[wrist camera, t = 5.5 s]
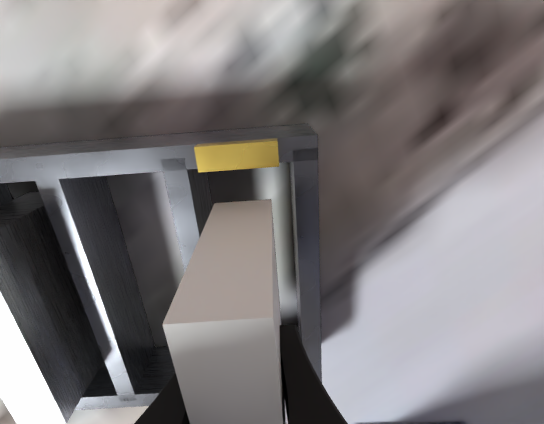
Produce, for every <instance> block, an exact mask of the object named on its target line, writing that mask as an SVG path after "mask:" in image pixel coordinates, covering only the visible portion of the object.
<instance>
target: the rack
mask: <svg viewBox="0 0 544 424" xmlns="http://www.w3.org/2000/svg"><path fill="white" fill-rule="evenodd" d="M282 162H290V179H291V198H292V216H293V235H294V254H295V273H296V292H297V311H298V330H299V335H300V338H301V341H302V344H303V346H304V349H305V351H306V353H307V356H308V358H309V360H310V362H311V364H312V366H313V368H314V370H315V372H316V374H317V376H318V378H319V379H320V381H321V383H322V372H321V313H320V254H319V195H318V136H317V134H316V133H315V132H314V130H313V129H312V128H311V127H310V126H309V125H308V124H296V125H283V126H270V127H257V128H244V129H231V130H218V131H205V132H192V133H179V134H166V135H153V136H140V137H127V138H114V139H101V140H88V141H75V142H62V143H49V144H36V145H23V146H10V147H0V396H1V398H2V400H3V401H4V403H5V405H6V406H7V408H8V410H9V411H10V413H11V415H12V416H13V418H14V420H15V421H16V423H17V424H63V423H67V421H68V420H69V418H70V416H71V415H72V413H73V411H74V410H83V409H101V408H119V407H136V406H150V405H151V403H152V402H153V401H154V400H155V398H156V397H157V396H158V394H159V393H160V392H161V390H162V389H163V388H164V386H165V385H166V384H167V382H168V381H169V380H170V378H171V377H172V375H173V374H174V373H175V368H174V365H173V361H172V358H171V354H170V350H169V347H168V346H164V347H155V344H154V341H153V337H152V334H151V331H150V327H149V324H148V320H147V317H146V313H145V310H144V307H143V303H142V300H141V296H140V293H139V290H138V286H137V283H136V279H135V276H134V272H133V269H132V266H131V262H130V259H129V255H128V252H127V248H126V245H125V242H124V238H123V235H122V231H121V228H120V224H119V221H118V218H117V214H116V211H115V207H114V204H113V200H112V197H111V194H110V190H109V187H108V183H107V180H106V177H105V176H107V175H120V174H134V173H147V172H161V171H163V174H164V178H165V183H166V188H167V192H168V197H169V201H170V206H171V211H172V215H173V220H174V225H175V229H176V234H177V238H178V243H179V248H180V252H181V257H182V262H183V266H184V271H186V268H187V266H188V264H189V261H190V259H191V257H192V254H193V252H194V250H195V247H196V245H197V243H198V240H199V238H200V236H201V233H202V231H203V229H204V226H205V224H206V222H207V219H208V217H209V215H210V213H211V210H212V208H213V207H212V201H211V195H210V189H209V182H208V176H207V172H211V171H225V170H239V169H252V168H266V167H279V163H282ZM26 181H35V182H36V185H37V187H38V190H39V192H31V193H27V194H25V195H22V196H20V197H18V198H16V199H14V200H13V199H12V196H11V194H10V192H9V189H8V187H7V185H6V183H13V182H26Z"/></svg>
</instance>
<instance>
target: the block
mask: <svg viewBox="0 0 544 424" xmlns="http://www.w3.org/2000/svg"><path fill="white" fill-rule="evenodd" d="M162 325H163V329H164V332H165V336H166V340H167V343H168V347H169V350H170V354H171V358H172V361H173V365H174V368H175V372H176V376H177V379H178V383H179V386H180V390H181V394H182V397H183V401H184V404H185V408H186V411H187V415H188V419H189V422H190V424H288V420H287V413H286V405H285V398H284V386H283V374H282V362H281V351H280V325H281V314H280V302H279V289H278V277H277V264H276V252H275V239H274V227H273V215H272V202H271V199H267V200H253V201H239V202H226V203H214V206H213V208H212V210H211V213H210V215H209V217H208V219H207V222H206V224H205V226H204V229H203V231H202V233H201V236H200V238H199V240H198V243H197V245H196V247H195V250H194V252H193V254H192V257H191V259H190V261H189V264H188V266H187V268H186V271H185V273H184V275H183V278H182V280H181V282H180V285H179V287H178V289H177V292H176V294H175V296H174V299H173V301H172V303H171V306H170V308H169V310H168V313H167V315H166V317H165V319H164V322H163V324H162Z"/></svg>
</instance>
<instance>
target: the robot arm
mask: <svg viewBox="0 0 544 424" xmlns="http://www.w3.org/2000/svg"><path fill="white" fill-rule="evenodd" d="M280 351H281V362H282V374H283V386H284V398H285V405H286V413H287V420H288V424H348V423H347V422H346V421H345V419H344V418H343V416H342V415H341V413H340V412H339V410H338V409H337V407H336V406H335V404H334V403H333V401H332V400H331V398H330V397H329V395H328V393H327V392H326V390H325V388H324V386H323V385H322V383H321V381H320V379H319V378H318V376H317V374H316V372H315V370H314V368H313V366H312V364H311V362H310V360H309V358H308V356H307V353H306V351H305V349H304V346H303V344H302V341H301V338H300V335H299V332H298V327H297V326H296V325H295V324H289V325H280ZM134 424H190V422H189V419H188V415H187V411H186V408H185V404H184V401H183V397H182V394H181V390H180V386H179V383H178V379H177V376H176V372H175V373H174V374H173V375H172V377H171V378H170V380H169V381H168V382H167V384H166V385H165V386H164V388H163V389H162V390H161V392H160V393H159V394H158V396H157V397H156V398H155V400H154V401H153V402H152V403H151V405H150V406H149V407H148V408H147V409H146V411H145V412H144V413H143V414H142V415H141V416H140V418H139V419H138V420H137V421H136V422H135V423H134Z"/></svg>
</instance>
